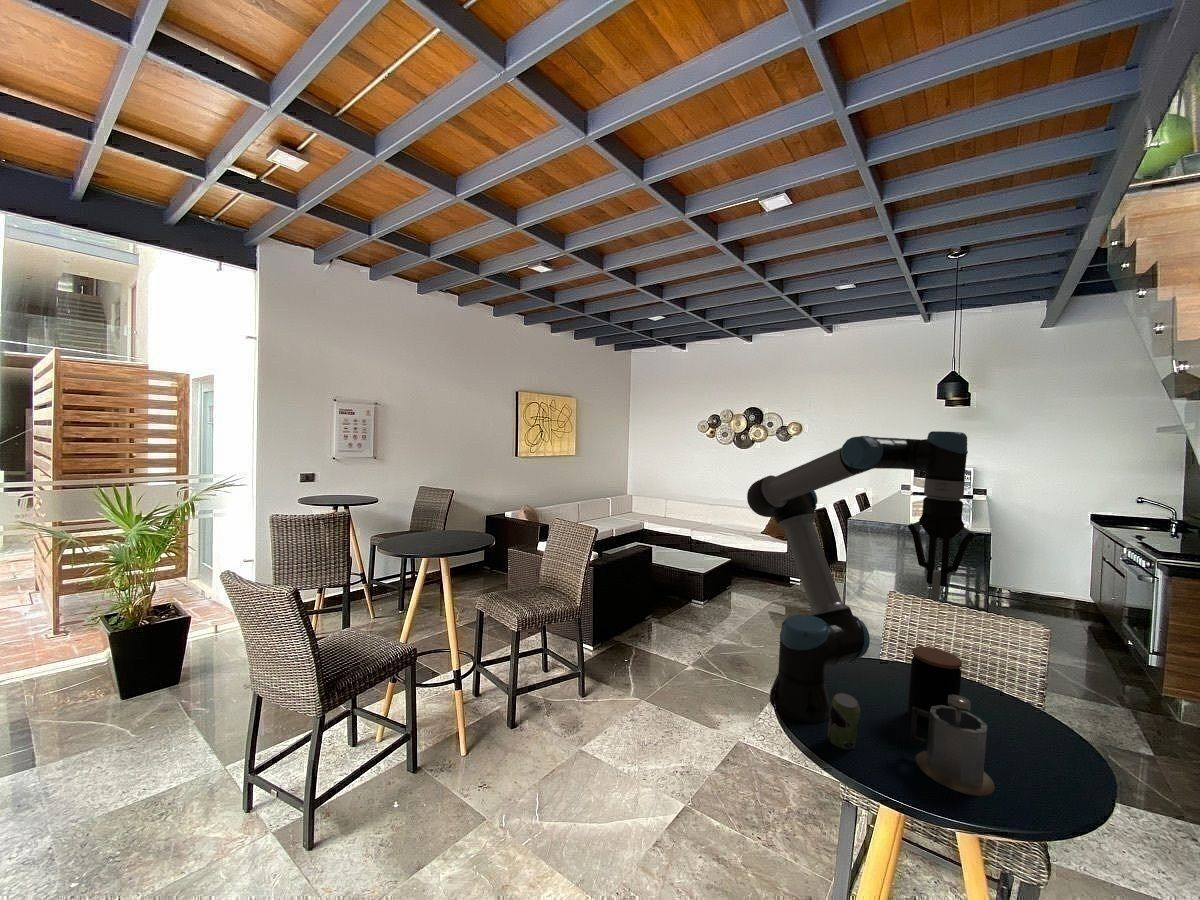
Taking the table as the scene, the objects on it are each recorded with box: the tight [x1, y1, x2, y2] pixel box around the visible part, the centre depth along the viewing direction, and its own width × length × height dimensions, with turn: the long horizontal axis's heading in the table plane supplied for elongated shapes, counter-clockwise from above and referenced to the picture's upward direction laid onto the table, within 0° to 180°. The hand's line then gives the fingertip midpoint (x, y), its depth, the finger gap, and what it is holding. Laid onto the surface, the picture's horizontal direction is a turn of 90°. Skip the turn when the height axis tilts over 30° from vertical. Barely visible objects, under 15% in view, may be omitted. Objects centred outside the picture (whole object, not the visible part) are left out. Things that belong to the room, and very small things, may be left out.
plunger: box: [948, 695, 972, 727], centre depth 106 cm, size 7×7×13 cm
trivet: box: [915, 750, 995, 797], centre depth 106 cm, size 14×14×1 cm
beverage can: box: [827, 692, 861, 750], centre depth 114 cm, size 6×7×12 cm
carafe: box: [909, 705, 988, 789], centre depth 107 cm, size 13×10×12 cm
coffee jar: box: [907, 646, 963, 730], centre depth 125 cm, size 11×11×18 cm
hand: (935, 598), depth 113 cm, fingers closed
